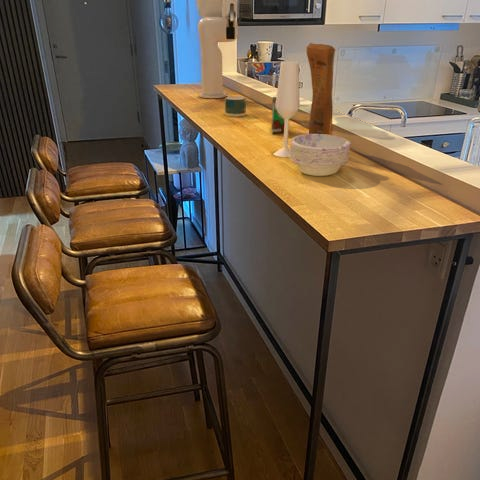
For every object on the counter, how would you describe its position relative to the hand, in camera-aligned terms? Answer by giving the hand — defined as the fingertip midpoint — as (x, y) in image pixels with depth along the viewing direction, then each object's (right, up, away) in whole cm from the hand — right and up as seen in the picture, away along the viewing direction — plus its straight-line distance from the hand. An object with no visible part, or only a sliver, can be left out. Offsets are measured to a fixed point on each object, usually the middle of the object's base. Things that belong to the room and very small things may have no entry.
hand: (230, 39), depth 194 cm
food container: (+18, -45, -23) cm, 53 cm away
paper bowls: (+24, -70, -63) cm, 97 cm away
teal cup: (+2, -24, -1) cm, 24 cm away
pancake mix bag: (+27, -58, -43) cm, 77 cm away
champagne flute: (+17, -61, -48) cm, 79 cm away
